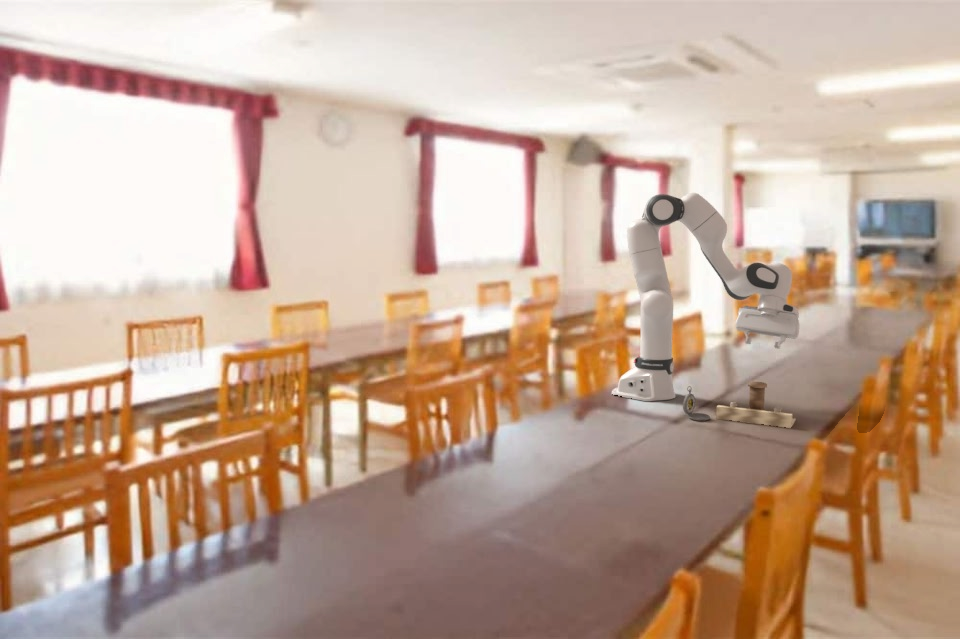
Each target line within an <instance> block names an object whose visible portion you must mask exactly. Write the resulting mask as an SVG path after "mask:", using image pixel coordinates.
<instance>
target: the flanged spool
mask: <svg viewBox="0 0 960 639" xmlns="http://www.w3.org/2000/svg"><path fill="white" fill-rule="evenodd" d="M747 387H749V395H748V396H749V398H748V401H749V402H748V409H755V410H763V411H765V410H764V409H765V397H766V396H765V394H766V390H765V389H766V388H768V384H767V383H766V382H762V381H748V382H747Z"/></svg>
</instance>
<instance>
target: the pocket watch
mask: <svg viewBox="0 0 960 639" xmlns="http://www.w3.org/2000/svg"><path fill="white" fill-rule="evenodd" d="M687 392H688V393H687V394H685V397H684V399H683V402H682V410H683V412H684V413H685V414H686V415H687V417H688V418H689V419H691V420H693V421H702V422H703V421H708V420H710V419H711V416H710V415H709V414H707V413H700V412H694V410H695V407H696V397H695V395H694V393H692V387H691V386H690V385H688V386H687Z"/></svg>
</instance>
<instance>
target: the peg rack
mask: <svg viewBox="0 0 960 639" xmlns="http://www.w3.org/2000/svg"><path fill="white" fill-rule="evenodd" d="M715 417H716V418H715V419H716V420H723V421H729V420H732V421H731V422H737V421H740V422H739V423H745V422H749V423H748V424H753V423H757V424H756V425H761V424H764V425H763V426H769V425H771V426H770V427H776V426H778V427H777V428H784V427H786V428H785V429H792V428H791V427H793V425H794V424H795V423H796V420H797V419H796V418H793V417H794V416H793V413H788V412H782V407H780V406H774V408H773V411H770V410H764V411H763V410H755V409H749V408H745V407H738V402H736V401H731V402H730V404H729V405H728V406H727V405H720V404H718V405H716V416H715Z"/></svg>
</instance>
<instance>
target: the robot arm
mask: <svg viewBox="0 0 960 639" xmlns="http://www.w3.org/2000/svg"><path fill="white" fill-rule="evenodd" d="M675 222H680V223H682V224H683V225H684V226H685V227H686V228H687V229H688V230H689V231H690V232H691V234H692V236H694V238H695V239H696V241H697V243H698V245H699V247H700V250H701V252H702V255H703V256H704V257H705V259H706V260H707V262H708V263H709V264H710V265H711V267H712V269H713V271H714V272H716V274H717V276H718V277H719V278H720V280H721V282H722V284H723V287H724V290H725V292H726V294H728V296H730V297H731V298H732V299H734V300H737V301H743V300H746V299H748V298H749V297H751V296H753V295H754V294H758V295H759V300H758V305H757V306H749V305H743V306H741V307H739V308H738V312H737V318H736V320H735V324H734V327H735V329H736V330H737V332H743V333H744V335H745V345H751V343H752V338H751V337H749V335H750V334H751V333H752V334H758V335H765V336H770V337H771V336H772V337H779V338H780V339H779V341H775V342H774V348H775V349H778V350H780V349H781V345H782V344H783V343H785V341H786V339H793V340H796V339H797V338H798V337H799V335H800V322H799V316H800V313H799V310H798V308H797V307H796V306H793V305H791V304H788V296H789V295H790V293H791V288H792V283H793V273H792V270H791V268H790V267H789V266H787V265H786V264H783V263H780V262H773V263H772V264H771V263H770V264H764V263H761V262H753V263H751V264H748V265H746V266H745V267H743V268H741V269H737V268H736V267H735V266H734V264H733V263H732V262H731V260H730V258H729V257H728V256H727V255H726V253H725V252H724V249H723V248H724V247H723V243H724V240H725V238H726V236H727V231H728V224H727V222H726V220H725V219H724V217H723V216H722V214H721V213H719V211H718V210H717V209H716V208H715V207H714V205H713V204H711V203H710V202H709V201H708V200H707V199H705V198H704V197H703V196H702V195H700V194H699V193H696V192H690V193H686V194H685V195H683V196H682V197H681V198H679V197H675V196H673V195H669V194H665V193H661V194H655V195H653V196H651V197H650V198H649V199H648V200H647V202H646V204H645V207H644V210H643V213H642V216H641V218H639V219H635V220H634V221H632V222H631V223H629V225H628V226H627V228H626V239H627V248H628V249H627V250H628V253H629V258H630V262H631V266H632V271H633V274H634V279H635V283H636V287H637V290H638V294H639V298H640V340H639V341H640V343H639V344H640V345H639V349H640V351H639V355H637V356H636V358H634V359H633V363H634V366H633V367H632V368H631V369H629V370H628V371H626V372H625V373H624V374H622V375H621V376H620V378H619V380H618V385H617V386H616V387H615V388H613V389H612V390H611V395H612V394H613V395H612V396H614V395H618V396H617V397H620V396H622V398H627V399H631V398H632V400H638V401H644V402H655V401H667V400H668V401H669V400H673V399H675V398H676V397H677V396H676V393H675V387H674V383H673V372H674V359H673V330H674V328H673V327H674V326H673V325H674V300H673V299H674V298H673V296H672V291H671V287H670V282H669V278H668V273H667V269H666V264H665V263H666V262H665V258H664V255H663V250H662V246H661V241H660V237H659V236H660V235H659V234H660V229H661V228H663V227H666V226H669V225H671V224H673V223H675Z"/></svg>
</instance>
